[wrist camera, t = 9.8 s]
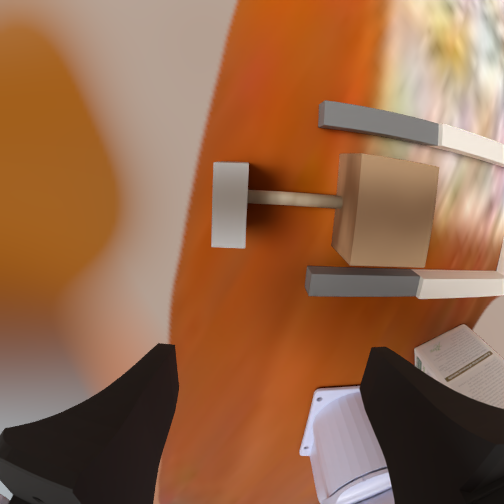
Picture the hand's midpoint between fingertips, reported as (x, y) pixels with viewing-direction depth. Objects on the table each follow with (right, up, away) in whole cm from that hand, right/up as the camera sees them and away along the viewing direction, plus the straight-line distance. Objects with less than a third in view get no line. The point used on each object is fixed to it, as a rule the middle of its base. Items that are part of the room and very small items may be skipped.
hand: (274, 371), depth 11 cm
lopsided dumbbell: (+3, +8, +9) cm, 12 cm away
